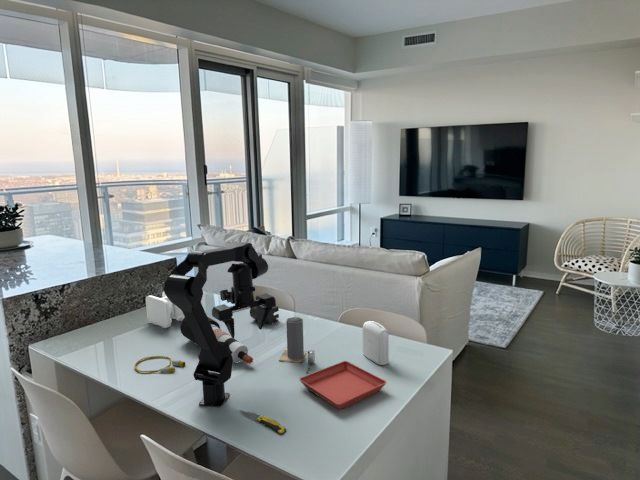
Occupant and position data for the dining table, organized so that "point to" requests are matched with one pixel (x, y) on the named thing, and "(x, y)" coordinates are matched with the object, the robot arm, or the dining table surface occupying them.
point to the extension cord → (163, 370)
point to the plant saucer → (342, 384)
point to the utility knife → (265, 422)
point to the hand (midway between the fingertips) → (246, 333)
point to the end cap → (270, 318)
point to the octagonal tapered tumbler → (295, 338)
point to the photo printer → (376, 342)
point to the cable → (235, 346)
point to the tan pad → (285, 358)
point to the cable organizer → (162, 311)
